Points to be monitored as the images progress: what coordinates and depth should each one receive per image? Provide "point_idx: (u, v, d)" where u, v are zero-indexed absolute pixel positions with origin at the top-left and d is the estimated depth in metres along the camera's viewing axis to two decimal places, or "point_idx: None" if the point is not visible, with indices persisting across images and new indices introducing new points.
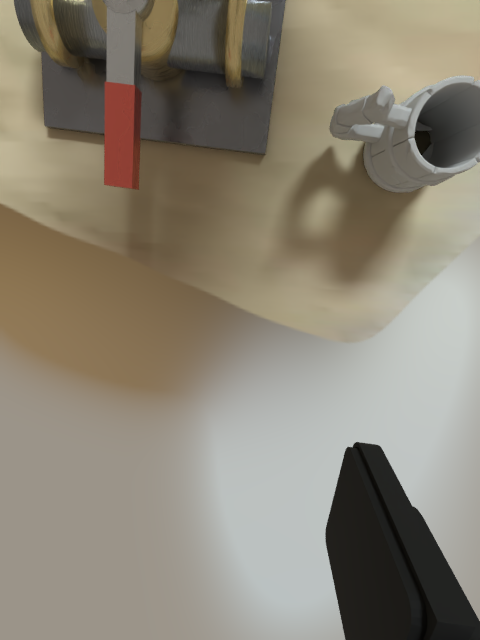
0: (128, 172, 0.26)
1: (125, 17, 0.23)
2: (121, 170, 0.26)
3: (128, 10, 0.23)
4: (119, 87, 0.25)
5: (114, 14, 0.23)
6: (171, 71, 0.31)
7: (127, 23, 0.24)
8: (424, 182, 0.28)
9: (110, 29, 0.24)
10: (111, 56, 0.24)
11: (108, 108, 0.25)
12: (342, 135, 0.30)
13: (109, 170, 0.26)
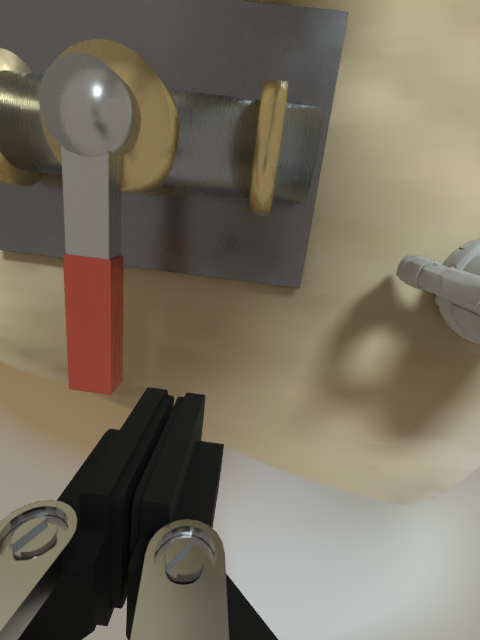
0: (104, 374, 0.17)
1: (92, 162, 0.14)
2: (94, 371, 0.17)
3: (96, 152, 0.14)
4: (86, 262, 0.16)
5: (74, 158, 0.14)
6: (169, 188, 0.21)
7: (95, 171, 0.14)
8: None
9: (68, 179, 0.15)
10: (71, 219, 0.15)
11: (70, 290, 0.16)
12: None
13: (76, 370, 0.17)
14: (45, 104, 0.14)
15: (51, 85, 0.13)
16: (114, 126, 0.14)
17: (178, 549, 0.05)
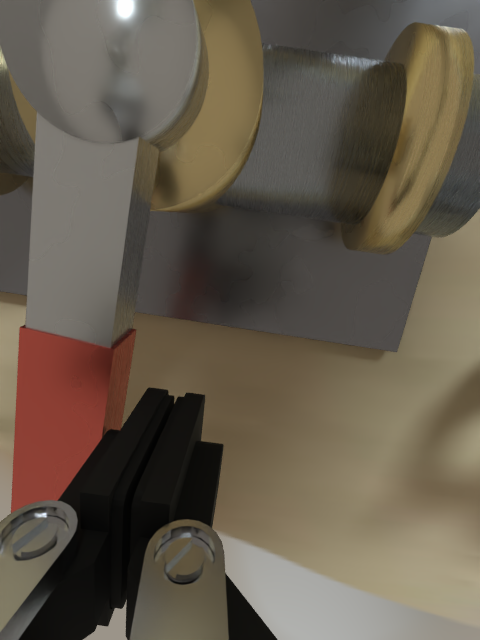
0: None
1: (100, 157, 0.07)
2: None
3: (112, 137, 0.07)
4: (65, 348, 0.08)
5: (62, 142, 0.07)
6: (219, 205, 0.14)
7: (105, 176, 0.07)
8: None
9: (46, 185, 0.07)
10: (44, 264, 0.07)
11: (28, 393, 0.08)
12: None
13: None
14: (10, 14, 0.06)
15: None
16: (160, 84, 0.06)
17: (178, 549, 0.05)
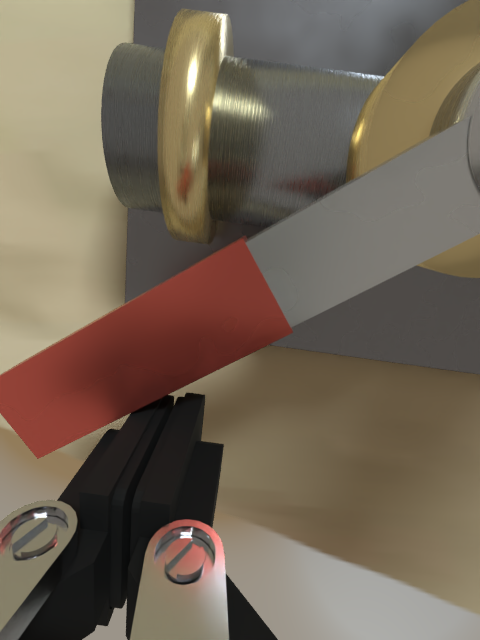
0: (65, 431, 0.08)
1: (467, 200, 0.06)
2: (54, 412, 0.08)
3: None
4: (256, 292, 0.07)
5: (458, 158, 0.06)
6: None
7: (452, 216, 0.06)
8: None
9: (404, 169, 0.06)
10: (327, 218, 0.07)
11: (178, 290, 0.07)
12: None
13: (27, 381, 0.08)
14: None
15: None
16: None
17: (178, 549, 0.05)
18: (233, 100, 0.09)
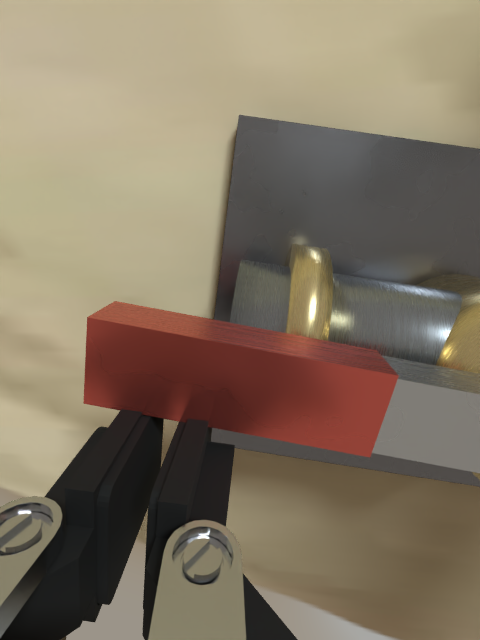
0: (129, 400, 0.08)
1: None
2: (134, 380, 0.08)
3: None
4: (372, 415, 0.08)
5: None
6: None
7: None
8: None
9: None
10: (461, 406, 0.08)
11: (321, 373, 0.08)
12: None
13: (135, 343, 0.08)
14: None
15: None
16: None
17: (195, 549, 0.05)
18: (337, 337, 0.11)
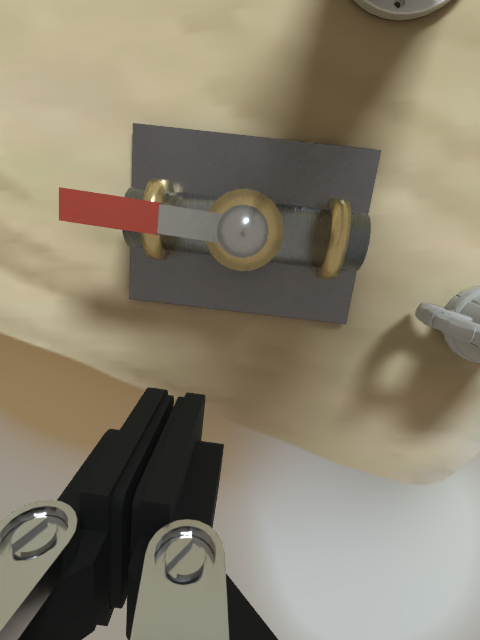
0: (74, 217, 0.24)
1: (213, 231, 0.24)
2: (75, 210, 0.24)
3: (218, 235, 0.24)
4: (154, 218, 0.24)
5: (216, 220, 0.24)
6: None
7: (208, 233, 0.24)
8: None
9: (204, 214, 0.24)
10: (181, 212, 0.24)
11: (134, 203, 0.24)
12: None
13: (74, 196, 0.24)
14: (244, 208, 0.23)
15: (253, 214, 0.23)
16: (232, 248, 0.24)
17: (178, 549, 0.05)
18: None
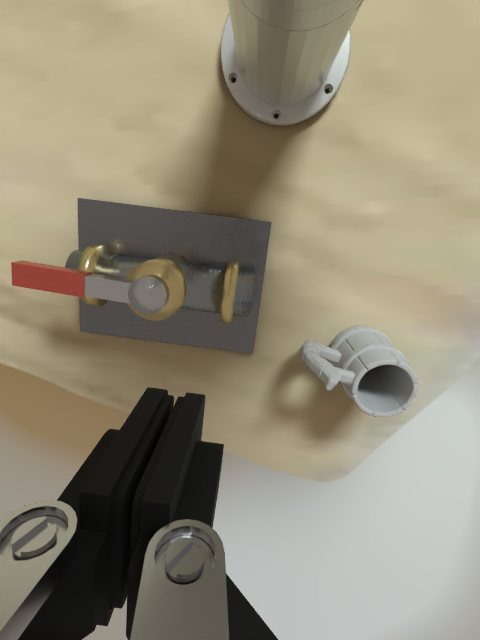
0: (23, 284, 0.33)
1: (125, 295, 0.32)
2: (24, 278, 0.32)
3: (129, 298, 0.32)
4: (81, 285, 0.32)
5: (126, 288, 0.32)
6: None
7: (122, 296, 0.32)
8: None
9: (118, 283, 0.32)
10: (101, 282, 0.32)
11: (66, 274, 0.32)
12: None
13: (23, 268, 0.32)
14: (146, 280, 0.32)
15: (153, 284, 0.32)
16: (139, 308, 0.33)
17: (178, 549, 0.05)
18: (98, 273, 0.36)
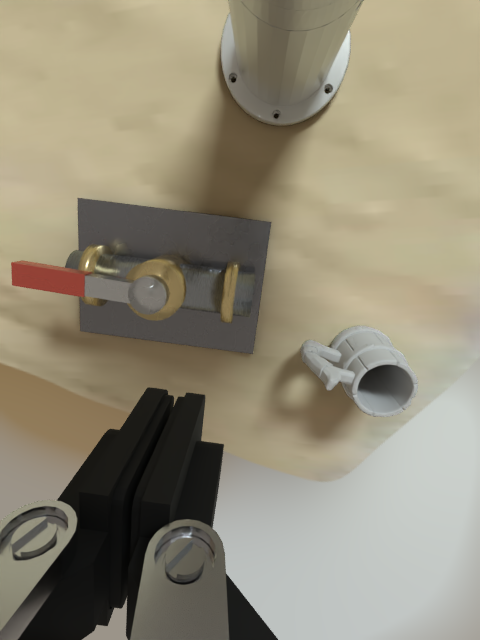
0: (23, 283, 0.33)
1: (125, 295, 0.32)
2: (24, 278, 0.32)
3: (129, 298, 0.32)
4: (81, 285, 0.32)
5: (126, 288, 0.32)
6: None
7: (122, 296, 0.32)
8: None
9: (118, 283, 0.32)
10: (101, 282, 0.32)
11: (66, 274, 0.32)
12: None
13: (23, 268, 0.32)
14: (146, 280, 0.32)
15: (153, 284, 0.32)
16: (139, 308, 0.33)
17: (178, 549, 0.05)
18: (98, 273, 0.36)
